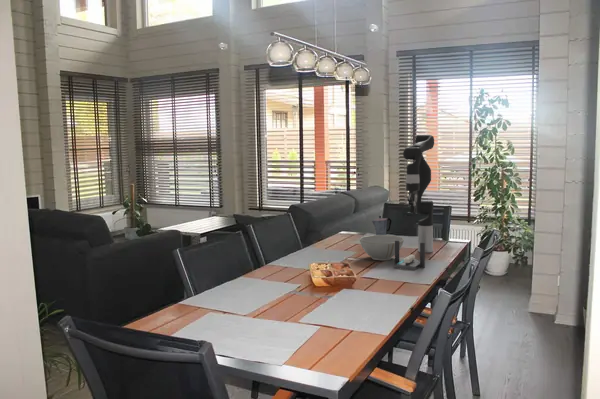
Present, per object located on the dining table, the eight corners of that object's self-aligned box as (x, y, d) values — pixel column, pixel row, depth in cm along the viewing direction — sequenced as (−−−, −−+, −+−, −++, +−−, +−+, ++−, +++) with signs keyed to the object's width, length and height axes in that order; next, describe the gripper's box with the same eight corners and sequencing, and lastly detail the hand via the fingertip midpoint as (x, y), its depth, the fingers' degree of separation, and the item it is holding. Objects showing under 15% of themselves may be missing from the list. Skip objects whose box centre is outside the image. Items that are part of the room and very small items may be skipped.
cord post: (420, 266, 292) (420, 242, 291) (425, 267, 291) (425, 242, 290) (419, 267, 290) (419, 243, 289) (423, 268, 289) (423, 243, 287)
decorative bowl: (403, 263, 300) (403, 243, 299) (357, 262, 306) (357, 242, 304) (403, 253, 326) (403, 235, 325) (361, 253, 332) (361, 234, 331)
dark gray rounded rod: (395, 264, 300) (395, 240, 299) (400, 264, 299) (399, 240, 297) (394, 264, 298) (394, 241, 296) (398, 265, 297) (398, 241, 295)
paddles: (409, 258, 299) (409, 254, 299) (414, 259, 298) (414, 255, 297) (404, 262, 291) (404, 258, 291) (409, 262, 289) (409, 258, 289)
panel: (404, 262, 304) (404, 257, 304) (424, 264, 298) (424, 259, 298) (394, 267, 291) (394, 263, 291) (415, 270, 285) (415, 265, 284)
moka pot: (368, 243, 362) (368, 215, 360) (387, 241, 368) (387, 213, 366) (376, 246, 353) (376, 217, 351) (395, 243, 359) (394, 215, 357)
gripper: (410, 181, 302) (410, 211, 303) (402, 182, 290) (402, 213, 292) (422, 181, 298) (422, 211, 299) (415, 183, 286) (415, 213, 288)
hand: (412, 212), depth 295 cm, fingers closed
